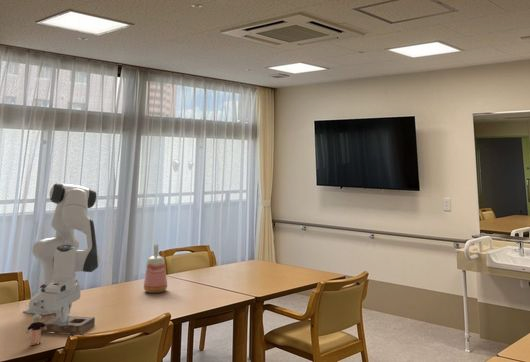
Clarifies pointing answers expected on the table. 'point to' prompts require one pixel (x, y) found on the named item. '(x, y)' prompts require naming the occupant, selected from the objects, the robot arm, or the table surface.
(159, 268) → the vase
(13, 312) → the table surface
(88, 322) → the peg board
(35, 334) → the grandmother figurine
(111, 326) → the table surface
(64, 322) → the peg
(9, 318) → the table surface
